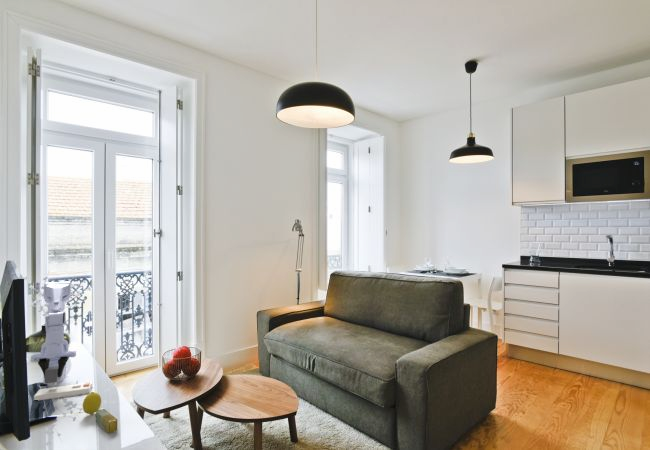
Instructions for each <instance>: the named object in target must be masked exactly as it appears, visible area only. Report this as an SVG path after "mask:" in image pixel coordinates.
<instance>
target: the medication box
mask: <svg viewBox="0 0 650 450" xmlns="http://www.w3.org/2000/svg"><path fill="white" fill-rule="evenodd" d="M95 422H96V423H97V424H98V426H100V427H101V428H102V429H104V430H105V431H106V432H107V433H109V434H112V433H114V431H115V432H117V431H118V418H116V417H115V416H114V415H113V414H111V412H109V411H108V410H107V409H106V408H104V407H103V408H99V409H98V411H96V412H95ZM116 430H117V431H116Z"/></svg>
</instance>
